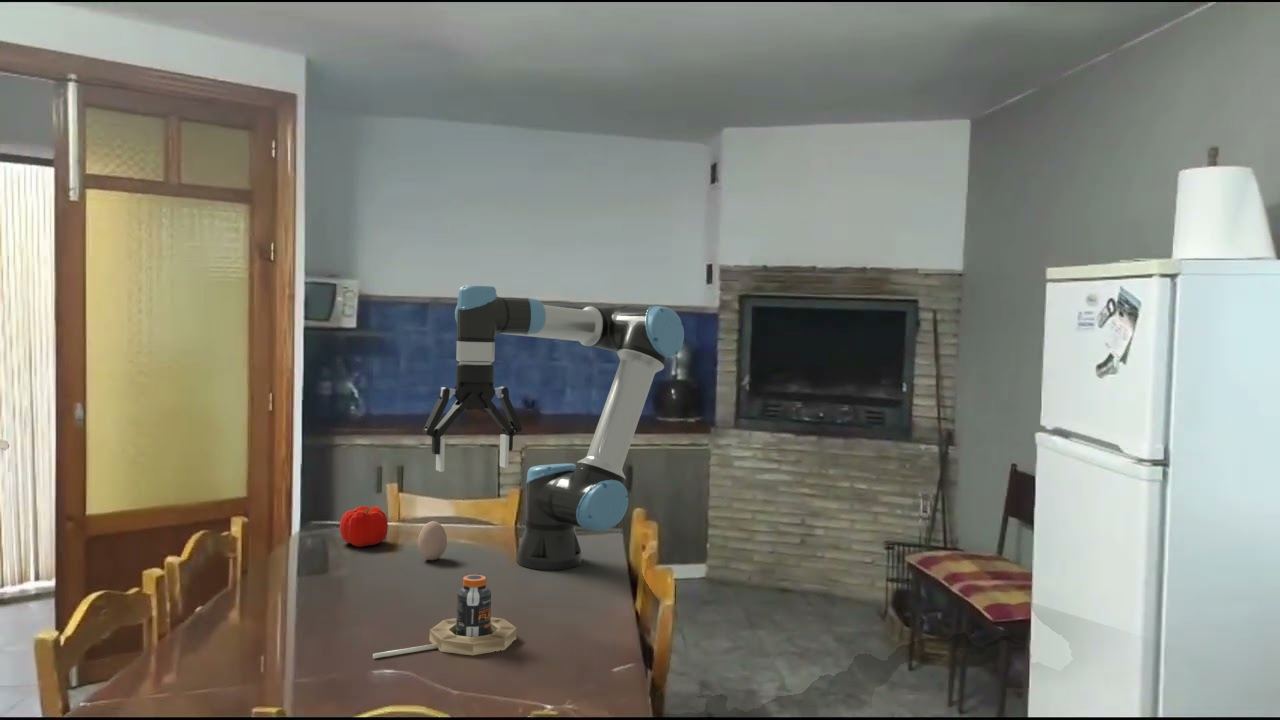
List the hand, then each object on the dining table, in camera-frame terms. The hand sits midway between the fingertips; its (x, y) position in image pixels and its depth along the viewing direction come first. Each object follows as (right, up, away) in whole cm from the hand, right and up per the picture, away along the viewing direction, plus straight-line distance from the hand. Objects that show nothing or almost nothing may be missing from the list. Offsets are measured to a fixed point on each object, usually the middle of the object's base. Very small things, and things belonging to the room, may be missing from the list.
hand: (472, 469), depth 188 cm
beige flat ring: (+4, -28, -22) cm, 36 cm away
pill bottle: (+4, -28, -22) cm, 36 cm away
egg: (-15, -25, +31) cm, 43 cm away
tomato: (-35, -24, +44) cm, 61 cm away
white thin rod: (-6, -28, -29) cm, 41 cm away
